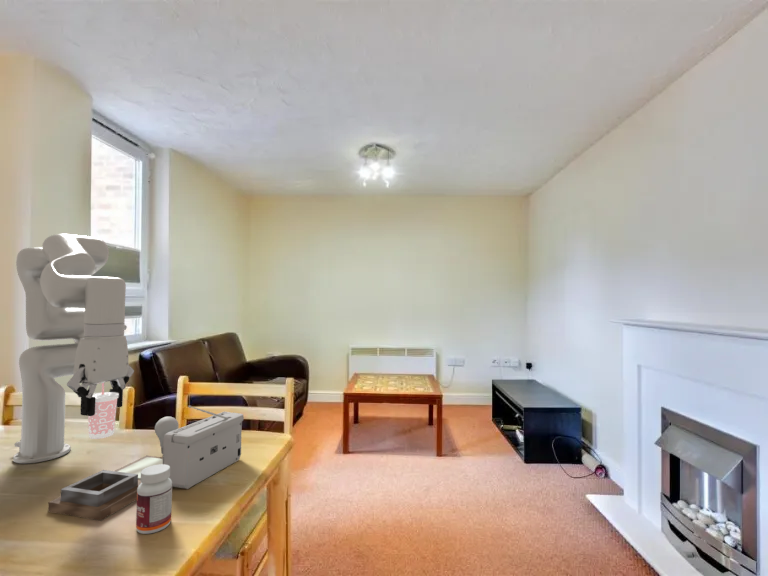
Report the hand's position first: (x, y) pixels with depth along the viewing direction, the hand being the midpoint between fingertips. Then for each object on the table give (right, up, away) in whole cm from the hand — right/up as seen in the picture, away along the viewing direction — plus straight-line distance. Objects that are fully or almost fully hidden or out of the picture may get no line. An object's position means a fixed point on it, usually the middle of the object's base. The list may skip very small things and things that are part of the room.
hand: (102, 410), depth 90 cm
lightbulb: (0, -21, +26) cm, 33 cm away
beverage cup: (0, -6, 0) cm, 6 cm away
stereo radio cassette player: (+17, -21, +15) cm, 31 cm away
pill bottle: (+17, -20, -10) cm, 29 cm away
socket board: (+2, -21, +6) cm, 21 cm away
